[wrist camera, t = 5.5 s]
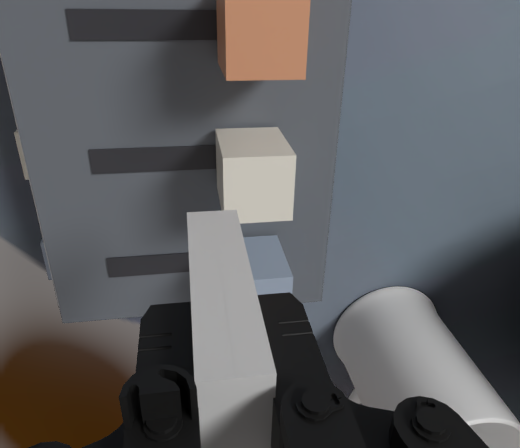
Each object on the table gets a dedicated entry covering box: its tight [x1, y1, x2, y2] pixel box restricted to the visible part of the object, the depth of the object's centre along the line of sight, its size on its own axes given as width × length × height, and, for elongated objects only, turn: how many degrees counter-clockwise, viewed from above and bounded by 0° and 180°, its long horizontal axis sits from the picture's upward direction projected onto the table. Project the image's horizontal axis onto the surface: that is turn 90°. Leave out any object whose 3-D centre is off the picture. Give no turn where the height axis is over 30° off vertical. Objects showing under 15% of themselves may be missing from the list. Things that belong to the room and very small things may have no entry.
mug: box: [333, 286, 520, 448], centre depth 33 cm, size 12×8×12 cm
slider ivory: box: [215, 127, 296, 224], centre depth 21 cm, size 3×3×4 cm
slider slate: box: [243, 235, 293, 295], centre depth 24 cm, size 3×3×4 cm
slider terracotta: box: [216, 0, 311, 81], centre depth 18 cm, size 3×3×4 cm
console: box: [0, 0, 352, 323], centre depth 25 cm, size 19×16×5 cm
